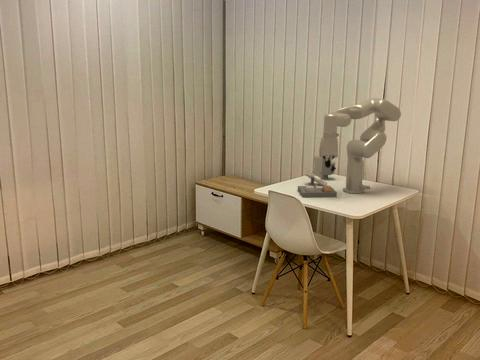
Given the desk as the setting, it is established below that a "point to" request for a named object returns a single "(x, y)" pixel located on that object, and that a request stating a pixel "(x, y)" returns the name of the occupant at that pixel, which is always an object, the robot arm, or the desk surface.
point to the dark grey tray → (316, 193)
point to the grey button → (309, 189)
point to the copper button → (326, 188)
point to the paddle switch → (312, 182)
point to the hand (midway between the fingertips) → (327, 167)
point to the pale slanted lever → (316, 179)
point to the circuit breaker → (322, 168)
